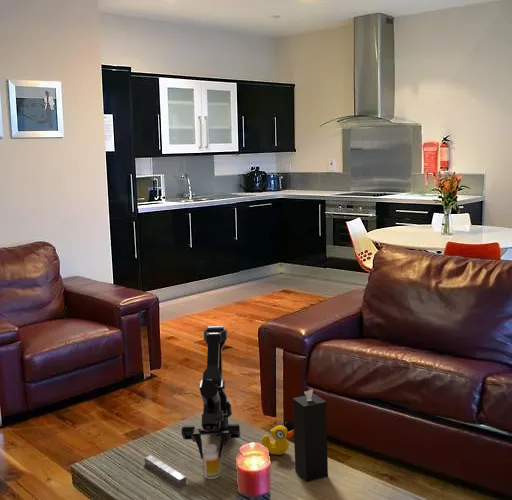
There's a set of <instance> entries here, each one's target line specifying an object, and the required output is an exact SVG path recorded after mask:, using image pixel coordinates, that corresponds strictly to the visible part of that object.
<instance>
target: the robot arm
mask: <svg viewBox="0 0 512 500" xmlns="http://www.w3.org/2000/svg"><path fill="white" fill-rule="evenodd" d="M227 338H228V329H227V328H225V326H224V325H208V326H207V329H205V328H204V330H203V341H204V342H205V343H206V345H207V356H206V357H207V360H206V368H205V370H204V371H203V373H202V378H201V380H200V384H199V393H200V397H201V400H202V403H203V404H202V407H203V409H202V410H203V411H202V414H201V428H195V425H193V424H189V425H182V427H181V436H182V438H183V440H188V441H189V440H192V442H195V443H196V446H197V449H198V452H199V455H200V459H201V460H203V453H204V452H203V450H204V449H203V440H202V436H203V435H204V436H205V435H207V436H209V435H211V436H212V435H215V436H220V439H219V440H220V441H219V449H218V453H219V458H220V459H221V458H222V455H223V453H224V449H225V448H226V445H227V443H228V442H230V441H232V439H239V438H241V427H240V424H239V423H229V418H230V416H232V415H233V413H232V412H233V411H232V404H231V403H230V400H228V395H227V393H226V391H225V388H226V381H225V379H224V378H223V351H222V350H223V347H224V346H225V344H226V342H227Z"/></svg>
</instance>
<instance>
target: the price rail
mask: <svg viewBox="0 0 512 500" xmlns="http://www.w3.org/2000/svg"><path fill="white" fill-rule="evenodd" d="M143 459H144V465H145V466H146V467H147V468H150V470H153V471H154V472H156V473H157V474H158V475H160V476H162V477H163V478H165V479H166V480H168V481H170V482H171V483H172V484H174V485H175V486H177V487H179V488H182V487H184V486H187V477H186V476H185V475H184V474H182V473H180V472H179V471H178V470H176V469H174V468H172V467H171V466H169V465H168V464H166V463H164V462H163V461H161V460H159V458H156V457H155V456H153V455H152V454H149V455H147V456H144V457H143Z"/></svg>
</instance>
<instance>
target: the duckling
mask: <svg viewBox="0 0 512 500" xmlns="http://www.w3.org/2000/svg"><path fill="white" fill-rule="evenodd" d="M269 433H270V435H271V436H272V438H273V440H274V441H273V440H271V439H270V437H269V435H268V434H264V435H263V436H262V438H261V446H262V445H264V446H265V447H267V448H268V450H269V454H271V455H278V456H281V455H283V454H285V453H286V452H287V451H288V449H289V448H290V442H289V441H288V439H291V438H292V437H294V428H293V429H291V430H290V431H288V428H287V427H286V426H284V425H280V424H279V425H276V426H274V427H273V428H271V429H270V431H269Z"/></svg>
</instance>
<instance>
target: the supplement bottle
mask: <svg viewBox="0 0 512 500" xmlns="http://www.w3.org/2000/svg"><path fill="white" fill-rule="evenodd" d="M203 450H204V452H203V458H202V470H203V477H204V478H205V479H209V480H215V479H217V478H218V477H220V476H221V463H220V459H221V458H219V451H218V447H217V445H216V444H215V443H210V444H209V443H207V444H206V445H204V447H203Z"/></svg>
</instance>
